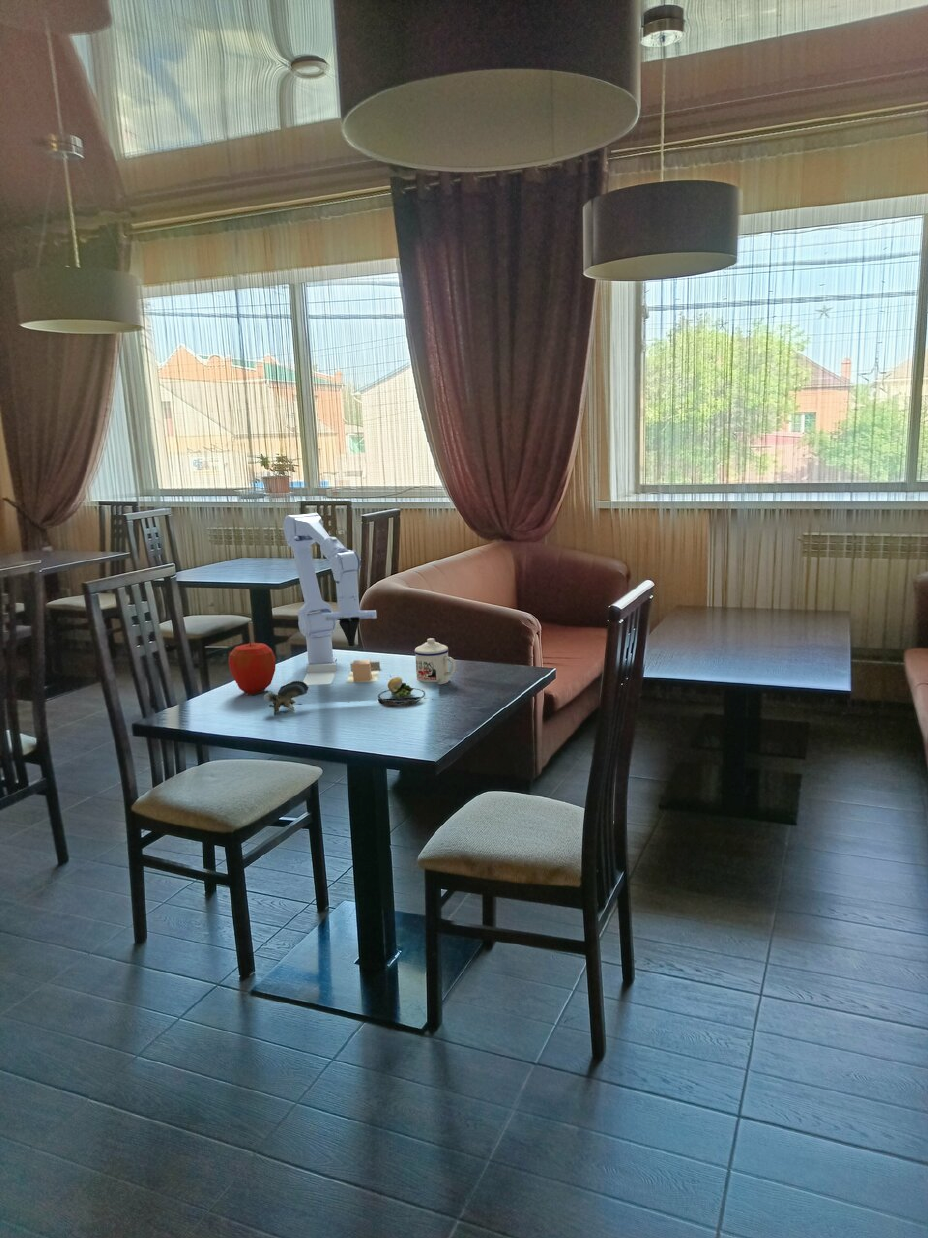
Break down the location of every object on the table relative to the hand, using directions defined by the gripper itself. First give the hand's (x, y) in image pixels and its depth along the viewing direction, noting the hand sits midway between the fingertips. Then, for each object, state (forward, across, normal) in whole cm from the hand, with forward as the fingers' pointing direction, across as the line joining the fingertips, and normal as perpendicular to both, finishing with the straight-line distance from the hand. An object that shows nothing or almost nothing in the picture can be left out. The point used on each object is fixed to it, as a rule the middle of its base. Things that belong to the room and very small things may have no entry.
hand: (351, 645), depth 237 cm
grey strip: (+9, -9, -3) cm, 13 cm away
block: (+8, +3, -6) cm, 10 cm away
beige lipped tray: (+9, +3, -3) cm, 10 cm away
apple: (+9, -25, -10) cm, 28 cm away
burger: (+10, +14, -24) cm, 29 cm away
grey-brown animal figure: (+9, -14, -28) cm, 32 cm away
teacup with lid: (+9, +23, -10) cm, 27 cm away
